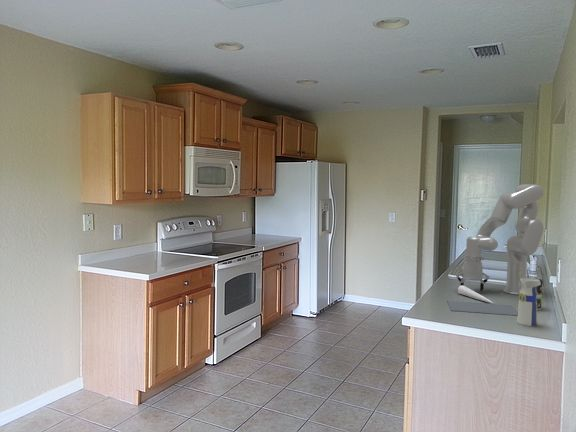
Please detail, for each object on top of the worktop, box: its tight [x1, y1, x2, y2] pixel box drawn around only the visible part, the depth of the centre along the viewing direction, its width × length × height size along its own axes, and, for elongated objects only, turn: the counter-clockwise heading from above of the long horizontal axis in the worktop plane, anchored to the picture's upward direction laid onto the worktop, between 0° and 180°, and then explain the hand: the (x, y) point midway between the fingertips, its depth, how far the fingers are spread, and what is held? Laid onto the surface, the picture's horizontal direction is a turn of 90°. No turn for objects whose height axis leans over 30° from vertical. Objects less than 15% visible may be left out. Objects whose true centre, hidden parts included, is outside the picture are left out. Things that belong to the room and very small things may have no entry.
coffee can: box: [517, 276, 544, 311], centre depth 224 cm, size 10×10×14 cm
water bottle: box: [516, 266, 541, 327], centre depth 198 cm, size 8×9×25 cm
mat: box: [447, 300, 518, 317], centre depth 222 cm, size 30×18×1 cm, turn 77°
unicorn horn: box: [457, 284, 494, 304], centre depth 239 cm, size 5×24×5 cm, turn 16°
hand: (471, 290), depth 253 cm, fingers open, 9 cm apart
